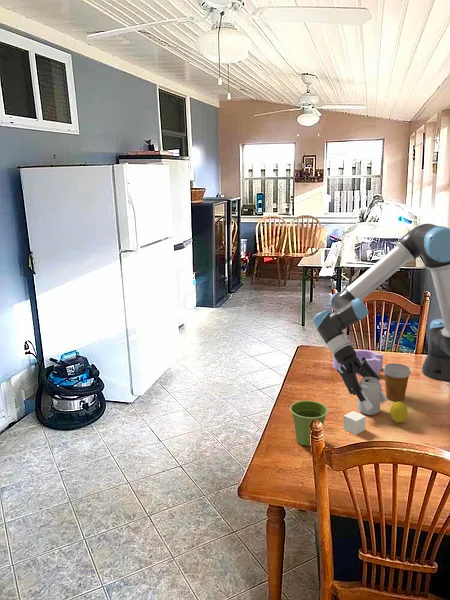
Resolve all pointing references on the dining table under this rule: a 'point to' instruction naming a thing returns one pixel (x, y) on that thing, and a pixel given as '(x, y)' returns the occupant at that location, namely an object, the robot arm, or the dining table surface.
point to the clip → (371, 358)
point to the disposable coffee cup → (396, 381)
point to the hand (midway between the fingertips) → (377, 405)
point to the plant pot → (306, 418)
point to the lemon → (399, 412)
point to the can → (370, 394)
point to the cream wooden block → (354, 422)
